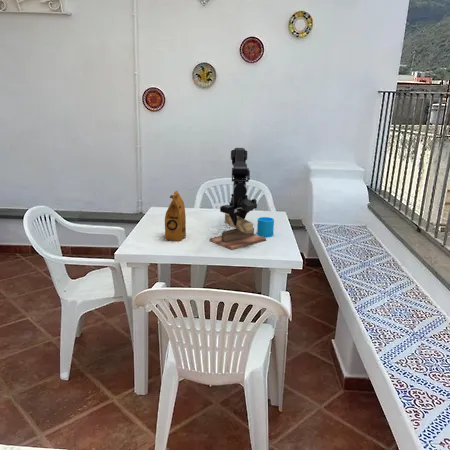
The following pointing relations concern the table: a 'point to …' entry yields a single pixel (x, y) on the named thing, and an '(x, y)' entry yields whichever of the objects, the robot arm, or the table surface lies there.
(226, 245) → the fulcrum stand
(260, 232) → the mug
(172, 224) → the coffee package
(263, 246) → the table surface
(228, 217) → the oak bar
